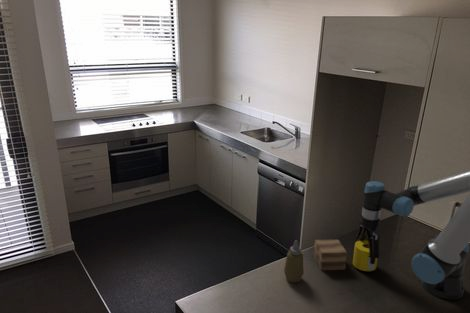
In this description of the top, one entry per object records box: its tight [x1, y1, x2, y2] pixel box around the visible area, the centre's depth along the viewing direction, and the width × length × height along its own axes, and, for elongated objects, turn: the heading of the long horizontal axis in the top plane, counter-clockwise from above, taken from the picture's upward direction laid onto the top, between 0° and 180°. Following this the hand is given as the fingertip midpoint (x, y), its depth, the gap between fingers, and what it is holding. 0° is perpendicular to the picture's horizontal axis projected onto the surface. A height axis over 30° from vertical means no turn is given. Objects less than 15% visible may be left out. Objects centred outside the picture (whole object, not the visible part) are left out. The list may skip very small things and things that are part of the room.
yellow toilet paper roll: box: [352, 239, 379, 272], centre depth 160 cm, size 10×10×9 cm
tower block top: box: [313, 239, 348, 263], centre depth 162 cm, size 11×11×4 cm
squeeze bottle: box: [283, 240, 304, 284], centre depth 149 cm, size 8×8×18 cm
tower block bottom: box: [313, 248, 347, 271], centre depth 163 cm, size 11×11×4 cm
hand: (364, 262), depth 161 cm, fingers closed on yellow toilet paper roll, 10 cm apart
